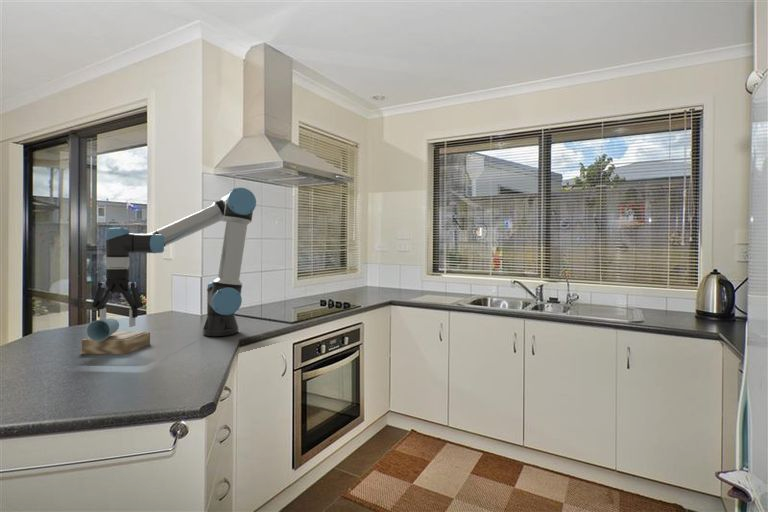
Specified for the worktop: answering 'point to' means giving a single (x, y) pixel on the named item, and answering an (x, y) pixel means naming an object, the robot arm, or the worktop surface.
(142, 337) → the base
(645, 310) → the worktop surface
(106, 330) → the cup
